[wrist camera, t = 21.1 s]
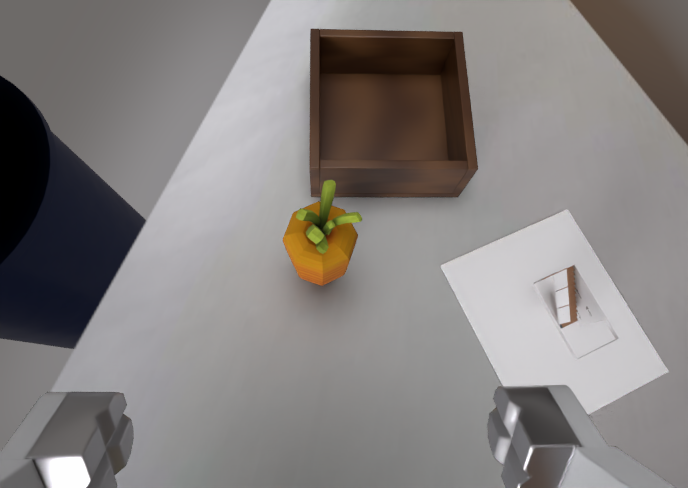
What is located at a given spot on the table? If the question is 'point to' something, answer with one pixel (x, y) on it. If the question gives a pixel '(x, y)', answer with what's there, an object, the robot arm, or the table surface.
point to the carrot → (321, 239)
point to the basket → (390, 113)
